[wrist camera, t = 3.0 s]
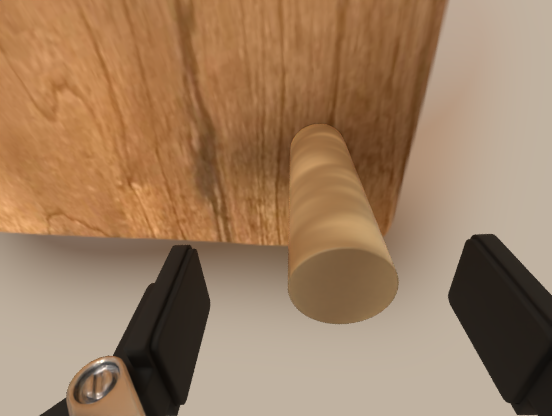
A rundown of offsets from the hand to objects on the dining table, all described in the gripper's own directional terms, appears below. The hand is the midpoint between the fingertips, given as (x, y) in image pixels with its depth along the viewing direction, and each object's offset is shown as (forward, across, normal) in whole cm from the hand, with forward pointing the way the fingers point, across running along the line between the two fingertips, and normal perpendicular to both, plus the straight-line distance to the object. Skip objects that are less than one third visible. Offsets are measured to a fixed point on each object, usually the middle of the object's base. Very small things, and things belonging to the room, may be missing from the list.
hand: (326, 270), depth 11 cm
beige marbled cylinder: (+11, -1, 0) cm, 11 cm away
